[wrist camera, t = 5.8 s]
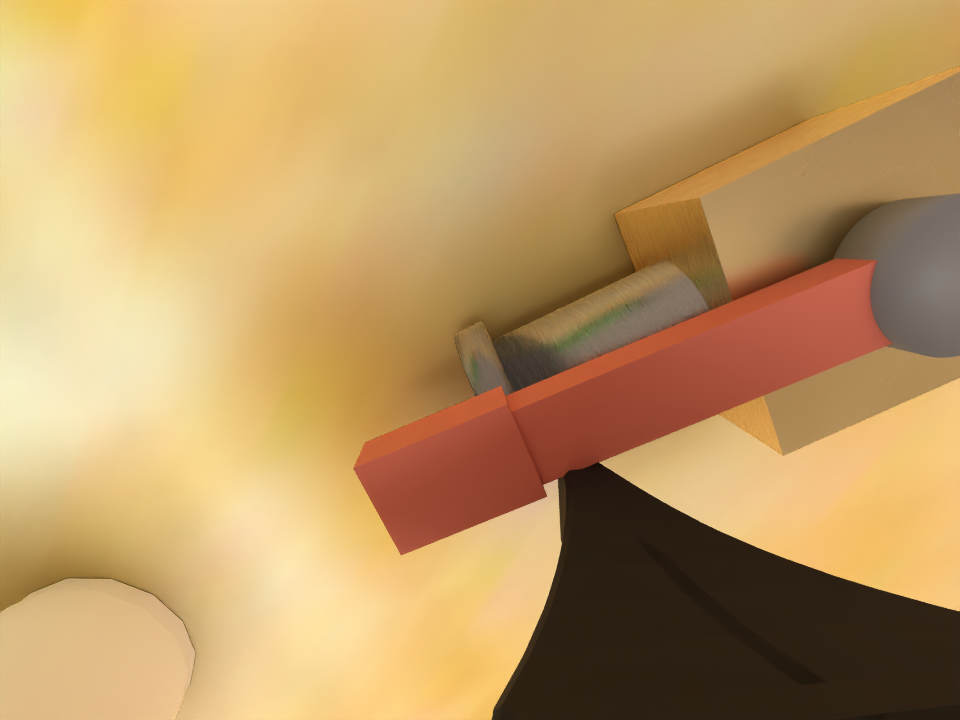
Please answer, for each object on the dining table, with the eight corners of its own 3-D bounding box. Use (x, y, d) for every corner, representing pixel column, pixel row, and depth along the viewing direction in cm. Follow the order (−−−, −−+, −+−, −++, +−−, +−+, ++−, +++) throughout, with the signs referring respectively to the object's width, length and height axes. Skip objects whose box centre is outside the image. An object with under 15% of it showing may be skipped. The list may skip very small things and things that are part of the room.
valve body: (998, 26, 13) (1315, -100, 8) (1027, 230, 14) (1309, 223, 9) (442, 297, 14) (435, 325, 9) (523, 460, 15) (553, 556, 10)
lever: (954, 174, 9) (1037, 162, 7) (972, 310, 9) (1050, 320, 8) (356, 425, 9) (340, 453, 8) (414, 535, 10) (409, 576, 9)
